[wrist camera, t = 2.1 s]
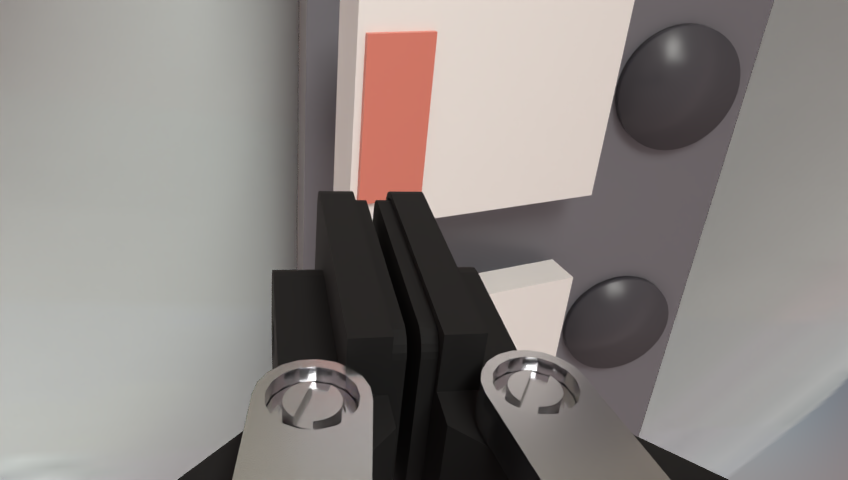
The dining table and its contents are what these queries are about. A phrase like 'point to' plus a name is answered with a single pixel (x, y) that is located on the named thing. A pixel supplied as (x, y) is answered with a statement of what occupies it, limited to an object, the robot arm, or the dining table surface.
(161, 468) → the dining table surface
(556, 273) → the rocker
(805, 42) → the dining table surface
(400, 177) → the rocker middle
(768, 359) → the dining table surface
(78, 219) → the dining table surface
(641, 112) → the grey switch panel
